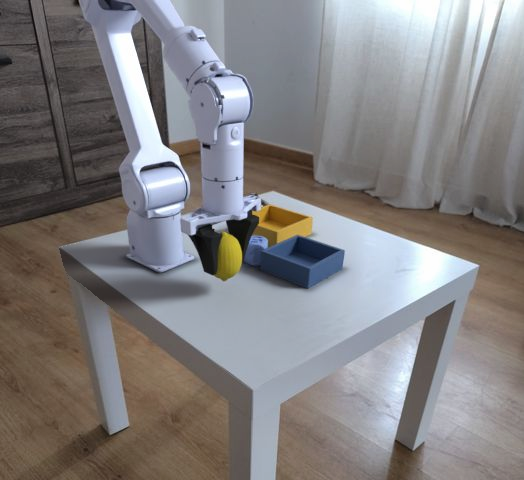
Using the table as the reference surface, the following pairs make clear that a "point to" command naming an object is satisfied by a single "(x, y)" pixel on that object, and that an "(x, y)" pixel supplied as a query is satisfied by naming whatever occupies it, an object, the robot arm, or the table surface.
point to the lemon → (228, 257)
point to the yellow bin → (281, 224)
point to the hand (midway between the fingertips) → (223, 266)
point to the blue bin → (302, 260)
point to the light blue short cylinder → (255, 250)
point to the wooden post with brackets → (261, 199)
